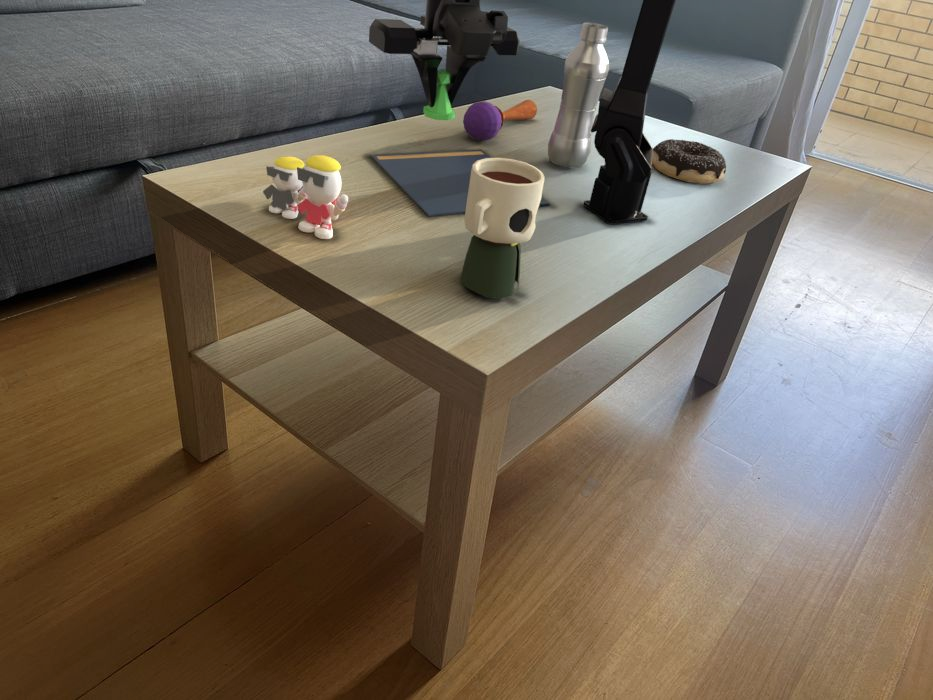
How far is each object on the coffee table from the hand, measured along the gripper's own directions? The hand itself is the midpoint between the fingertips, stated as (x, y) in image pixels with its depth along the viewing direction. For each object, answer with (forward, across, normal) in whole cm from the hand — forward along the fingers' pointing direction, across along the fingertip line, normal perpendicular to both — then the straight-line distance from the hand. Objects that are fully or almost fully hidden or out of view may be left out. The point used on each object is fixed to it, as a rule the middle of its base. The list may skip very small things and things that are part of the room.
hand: (439, 106), depth 96 cm
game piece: (+1, 0, 0) cm, 1 cm away
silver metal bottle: (+10, +23, 0) cm, 25 cm away
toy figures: (+9, -21, -11) cm, 26 cm away
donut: (+10, +42, -6) cm, 44 cm away
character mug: (+10, -8, -30) cm, 33 cm away
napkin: (+9, +2, -3) cm, 10 cm away
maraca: (+10, +20, +15) cm, 27 cm away
